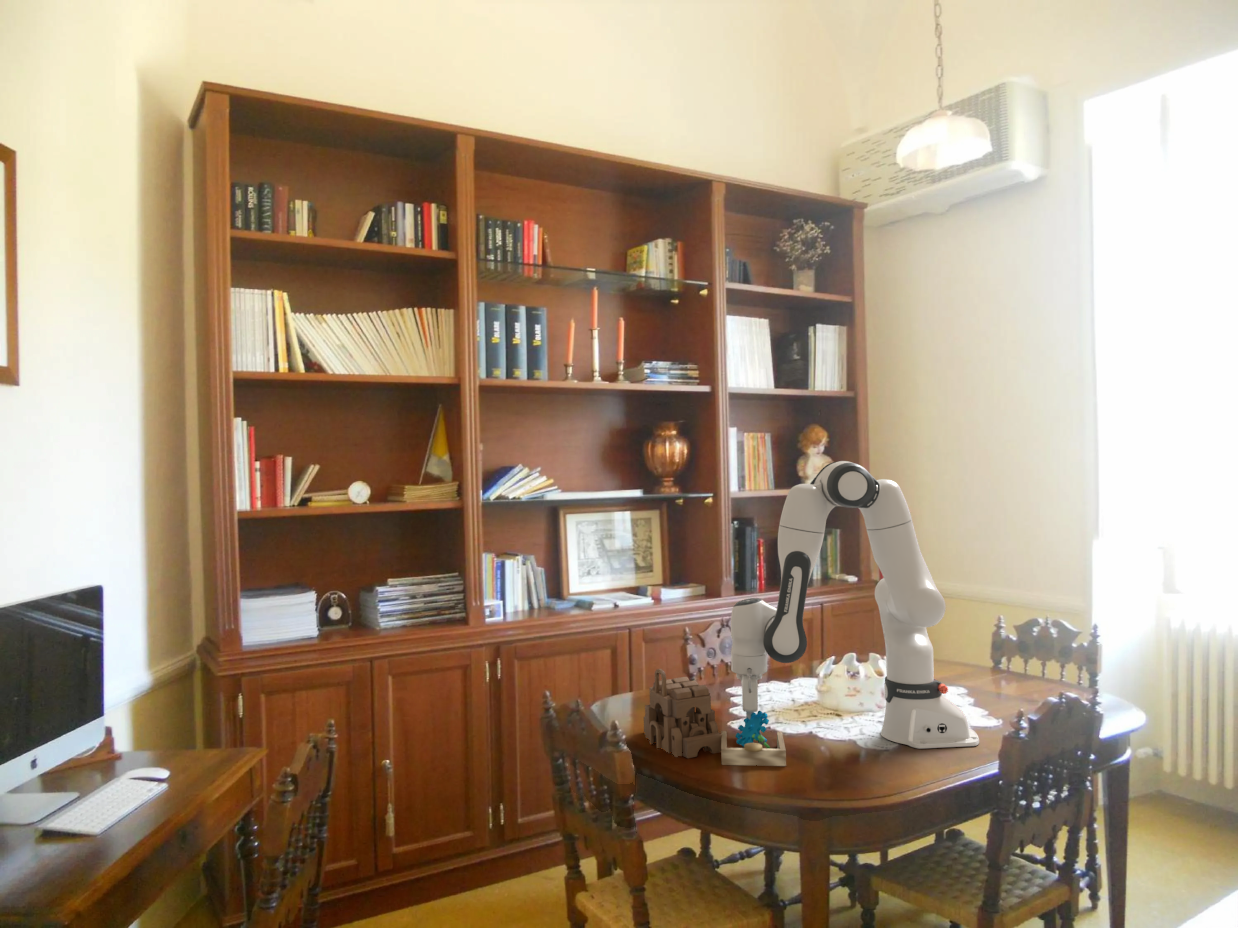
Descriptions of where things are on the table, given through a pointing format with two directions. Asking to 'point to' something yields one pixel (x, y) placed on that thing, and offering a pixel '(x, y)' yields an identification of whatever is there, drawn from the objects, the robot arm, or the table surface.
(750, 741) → the gear
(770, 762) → the drawer
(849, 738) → the table surface
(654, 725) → the wooden puzzle
